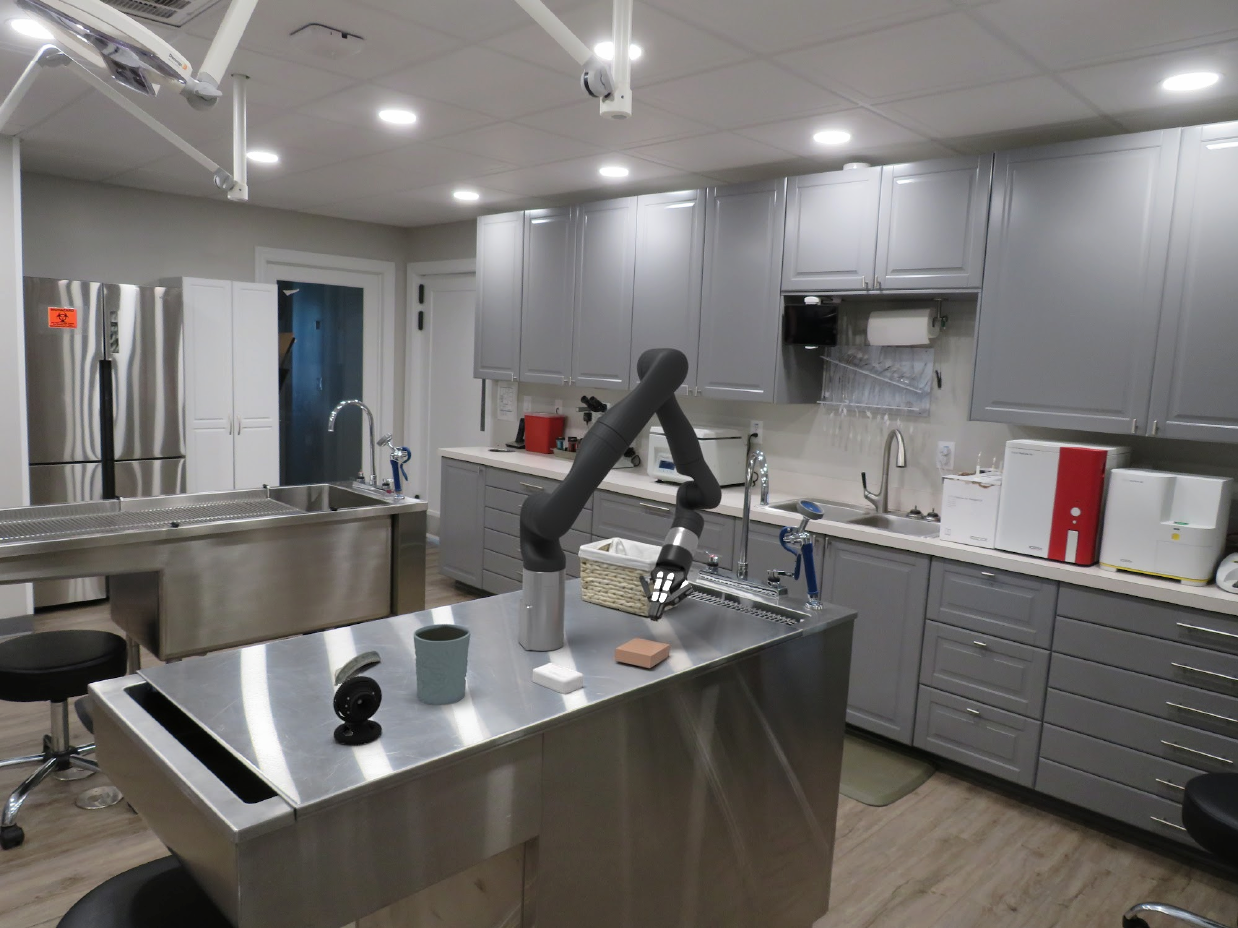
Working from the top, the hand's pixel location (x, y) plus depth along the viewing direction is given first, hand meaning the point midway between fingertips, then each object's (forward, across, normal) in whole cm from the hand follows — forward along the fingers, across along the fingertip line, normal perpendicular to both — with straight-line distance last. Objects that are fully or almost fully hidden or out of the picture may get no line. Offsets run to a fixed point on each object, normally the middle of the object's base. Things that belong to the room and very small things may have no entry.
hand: (653, 619), depth 177 cm
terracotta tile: (+4, 0, +5) cm, 6 cm away
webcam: (+49, -25, -37) cm, 66 cm away
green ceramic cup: (+34, -24, -23) cm, 48 cm away
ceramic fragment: (+35, -45, -23) cm, 61 cm away
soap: (+24, -8, -12) cm, 28 cm away
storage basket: (-16, -20, +27) cm, 37 cm away
